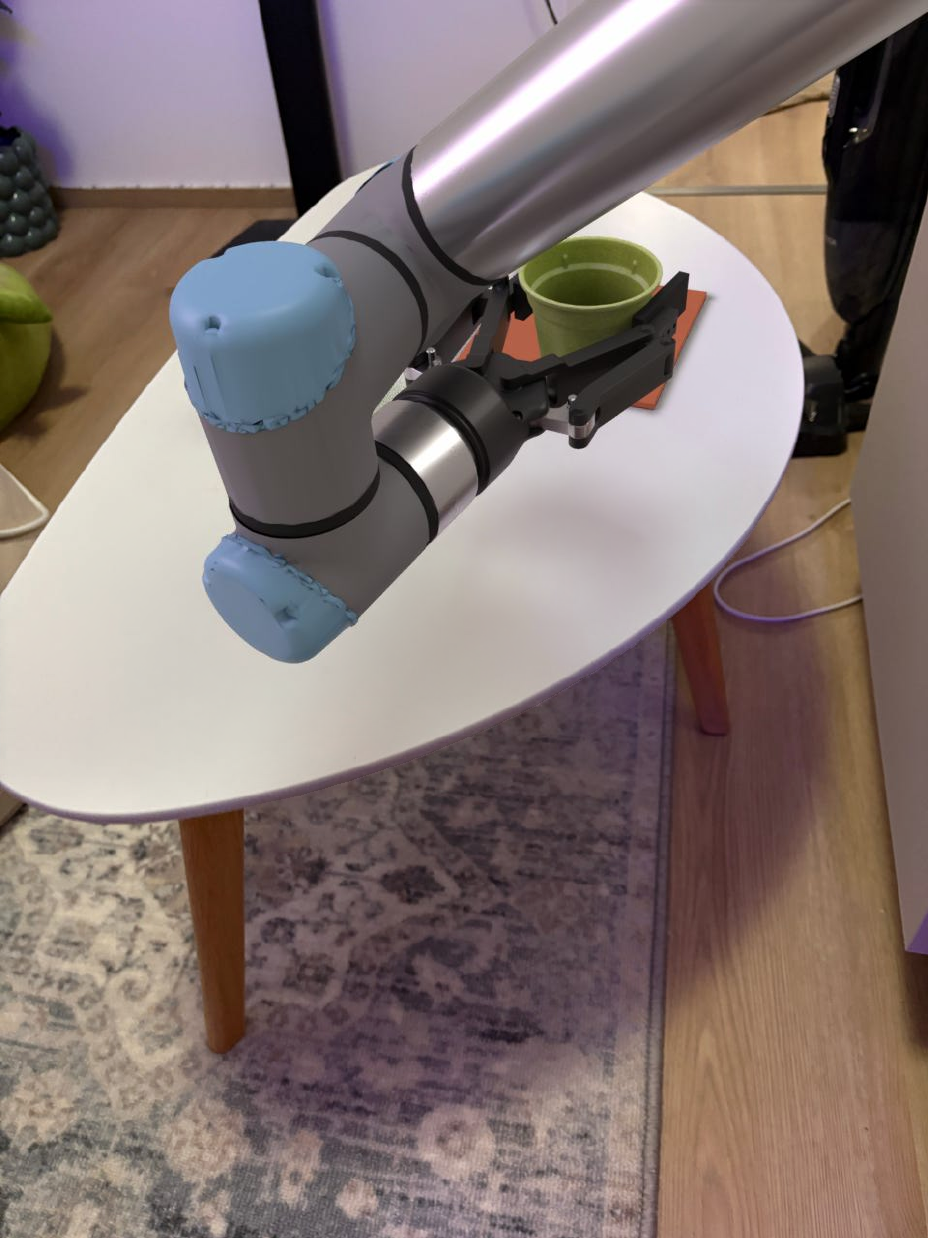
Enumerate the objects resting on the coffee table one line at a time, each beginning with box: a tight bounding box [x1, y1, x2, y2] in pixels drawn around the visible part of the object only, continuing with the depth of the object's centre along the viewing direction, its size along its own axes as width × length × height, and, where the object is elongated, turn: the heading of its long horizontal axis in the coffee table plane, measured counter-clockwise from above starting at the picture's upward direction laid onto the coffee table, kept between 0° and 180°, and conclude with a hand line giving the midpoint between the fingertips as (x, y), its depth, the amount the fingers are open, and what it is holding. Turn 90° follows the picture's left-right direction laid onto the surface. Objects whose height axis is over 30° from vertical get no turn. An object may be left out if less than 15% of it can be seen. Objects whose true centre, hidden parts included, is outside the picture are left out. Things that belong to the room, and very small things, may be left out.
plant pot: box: [518, 235, 664, 380], centre depth 65 cm, size 9×9×9 cm
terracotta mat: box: [455, 284, 708, 410], centre depth 93 cm, size 20×20×1 cm
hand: (623, 274), depth 66 cm, fingers closed on plant pot, 8 cm apart
